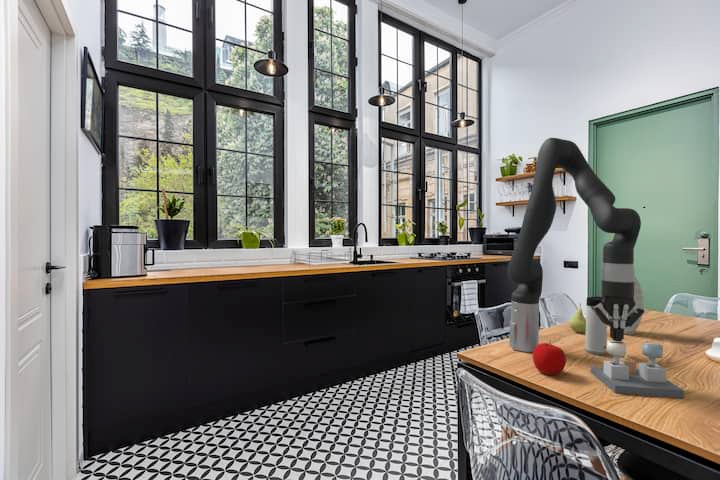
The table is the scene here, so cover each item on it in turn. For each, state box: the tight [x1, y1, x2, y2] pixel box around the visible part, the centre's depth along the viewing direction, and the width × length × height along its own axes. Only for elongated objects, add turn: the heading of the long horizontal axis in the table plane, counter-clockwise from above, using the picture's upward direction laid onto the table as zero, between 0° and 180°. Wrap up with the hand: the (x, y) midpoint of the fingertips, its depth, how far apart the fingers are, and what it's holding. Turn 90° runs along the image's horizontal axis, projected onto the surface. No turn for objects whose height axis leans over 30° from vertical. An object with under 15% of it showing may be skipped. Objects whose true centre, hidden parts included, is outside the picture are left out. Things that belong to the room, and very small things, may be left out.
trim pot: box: [619, 354, 637, 374], centre depth 105 cm, size 3×3×5 cm
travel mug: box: [585, 296, 608, 356], centre depth 128 cm, size 6×7×20 cm
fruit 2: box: [569, 303, 586, 334], centre depth 154 cm, size 7×8×12 cm
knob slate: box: [641, 341, 664, 368], centre depth 100 cm, size 4×4×6 cm
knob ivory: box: [606, 339, 627, 365], centre depth 101 cm, size 4×4×6 cm
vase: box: [607, 276, 645, 335], centre depth 154 cm, size 13×13×28 cm
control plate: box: [590, 360, 685, 399], centre depth 101 cm, size 16×14×6 cm
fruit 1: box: [532, 339, 567, 376], centre depth 109 cm, size 9×9×10 cm
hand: (616, 340), depth 101 cm, fingers closed
